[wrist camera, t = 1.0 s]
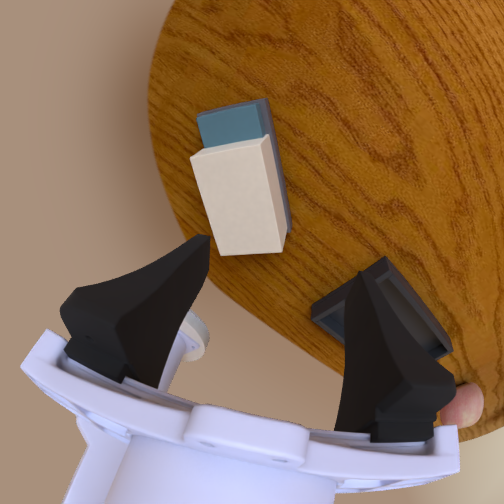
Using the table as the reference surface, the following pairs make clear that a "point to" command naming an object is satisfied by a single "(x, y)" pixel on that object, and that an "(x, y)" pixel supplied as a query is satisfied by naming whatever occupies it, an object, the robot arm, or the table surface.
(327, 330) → the tray
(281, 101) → the table surface
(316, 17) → the table surface
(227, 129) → the toy truck
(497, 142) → the table surface
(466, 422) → the apple
